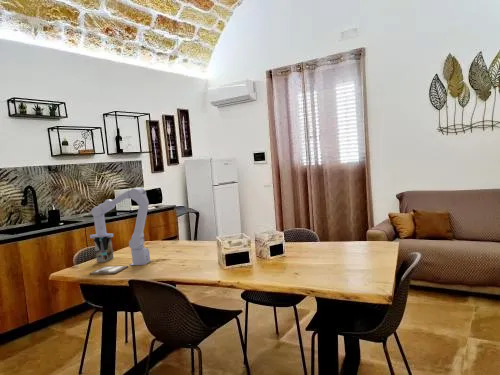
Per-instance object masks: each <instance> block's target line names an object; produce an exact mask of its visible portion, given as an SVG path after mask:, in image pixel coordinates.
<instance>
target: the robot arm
mask: <svg viewBox="0 0 500 375" xmlns="http://www.w3.org/2000/svg"><path fill="white" fill-rule="evenodd" d="M126 199H129V200H130V199H131V200H132V201H134V202H136V204H137V205H138V209H137V216H136V220H135V225H134V230H133V233H132V234H131V238H130V239H129V241H128V246H129V248H130V251H131V252H130V253H131V258H132V263H130V264H129V266H145V265H147V264H148V263H150V262H152V260H151V257H150V254H151V253H150V250H149V248H147V247H145V246H144V244H145V233H144V229H145V225H146V220H147V216H148V215H147V214H148V211H149V210H148V209H149V204H150V202H149V199H148V196H147V191H146V190H145V189H144V188H143V187H140V186H139V187H135V188H131V189H129V190H127V191H125V192H123V193H121V194H119V195H118V196H116V197H115V198H114V199H110V198H109V199H105V200H104V202H103V203H98V204H97V206H94V207H93V208H91V211H90V213H91V215H92V216H93V220H94V221H93V222H94V230H95V234H90V235H89V238H90V239H93V241H95V243H96V244H97V246H98V248H99V250H101V247H100V241H99V238H102V239H101V240H102V242H103V246H104V250H107V249H108V243H109V240H110V237H111V238H114V233H110V232H109V233H108V232H107V227H106V226H107V225H106V219H105V214H107V213H108V212H110V211H111V210H113V209H115V207H116V205H117V204H119V203H121V202H123V201H125V200H126ZM102 236H104V237H102ZM94 238H95V239H94ZM95 243H94V244H95Z"/></svg>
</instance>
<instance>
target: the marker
mask: <svg viewBox="0 0 500 375" xmlns="http://www.w3.org/2000/svg"><path fill="white" fill-rule="evenodd" d="M101 239H102V238H99V241H100V247H101V254H102V255H107V252H106V250H104V246H103V242H102V240H101Z"/></svg>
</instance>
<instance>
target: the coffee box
mask: <svg viewBox="0 0 500 375" xmlns="http://www.w3.org/2000/svg"><path fill="white" fill-rule="evenodd" d="M102 237H104V236H102ZM94 239H95V238H93V241H94ZM94 250H95V251H94V252H95V258H96V262H97V263H105V262H107V261H110V260H112V259H114V251H113V242H112V237H110V240H109V243H108V249H107V250H106V252H107V255H102V254H101V250H99V248H98V246H97V244H96V243H95V241H94Z"/></svg>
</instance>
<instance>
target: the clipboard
mask: <svg viewBox="0 0 500 375" xmlns="http://www.w3.org/2000/svg"><path fill="white" fill-rule="evenodd" d="M128 268H129V265H110V266H107V265H106V266H105V265H104V266H102V267H100V268H97V269H95V270H93V271H92V272H90V273H89V275H94V274H95V275H116V274H118V273H120V272H122V271H124V270H126V269H128Z"/></svg>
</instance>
